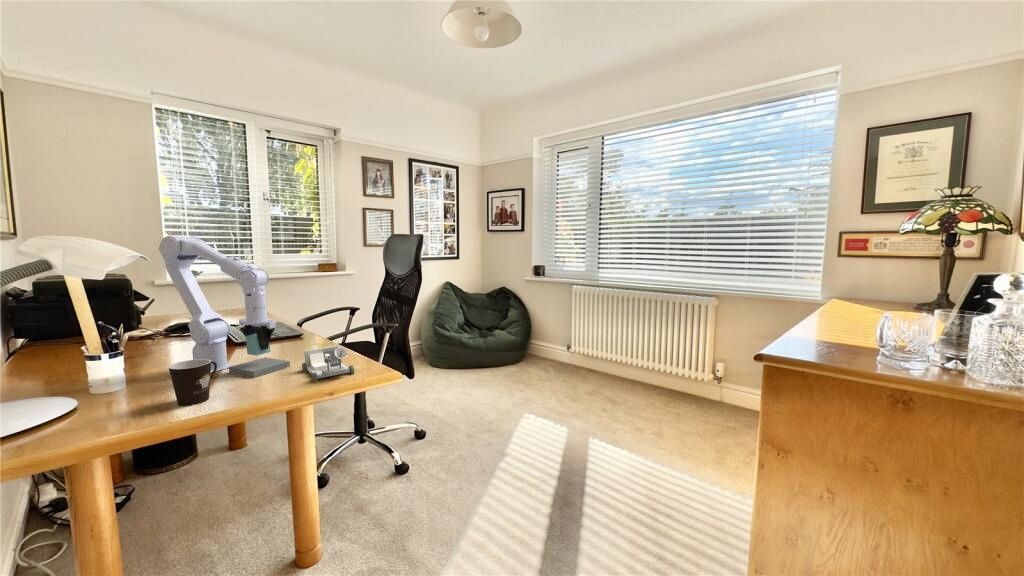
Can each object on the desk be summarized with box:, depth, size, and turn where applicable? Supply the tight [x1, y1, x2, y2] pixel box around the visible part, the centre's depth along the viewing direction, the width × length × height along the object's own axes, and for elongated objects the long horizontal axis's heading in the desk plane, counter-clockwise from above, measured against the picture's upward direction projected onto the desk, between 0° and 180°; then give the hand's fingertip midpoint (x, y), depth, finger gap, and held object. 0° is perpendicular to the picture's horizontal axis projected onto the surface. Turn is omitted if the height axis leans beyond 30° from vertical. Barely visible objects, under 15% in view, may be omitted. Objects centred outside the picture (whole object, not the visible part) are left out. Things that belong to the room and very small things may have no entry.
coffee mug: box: [168, 359, 217, 407], centre depth 104 cm, size 12×9×10 cm
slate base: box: [228, 357, 291, 379], centre depth 128 cm, size 12×12×2 cm
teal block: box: [245, 334, 271, 357], centre depth 127 cm, size 4×4×6 cm
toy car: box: [301, 345, 355, 383], centre depth 125 cm, size 18×10×12 cm
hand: (258, 348), depth 128 cm, fingers closed on teal block, 4 cm apart
